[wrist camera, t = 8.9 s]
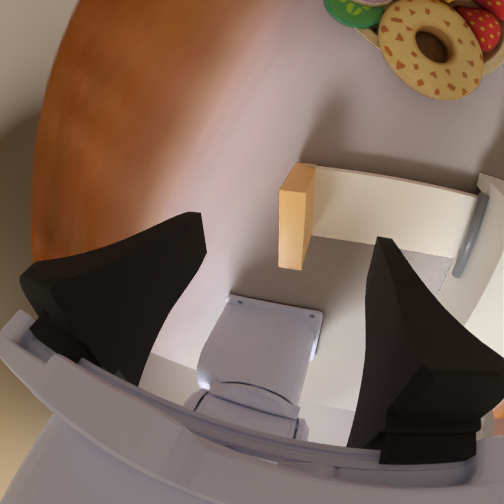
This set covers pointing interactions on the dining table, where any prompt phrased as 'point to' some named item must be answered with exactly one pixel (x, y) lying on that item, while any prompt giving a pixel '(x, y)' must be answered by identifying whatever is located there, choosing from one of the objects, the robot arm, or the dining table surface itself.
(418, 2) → the toy food set
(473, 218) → the cream rectangular block
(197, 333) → the dining table surface
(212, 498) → the robot arm
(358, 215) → the cream block orange end
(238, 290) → the dining table surface
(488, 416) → the donut
